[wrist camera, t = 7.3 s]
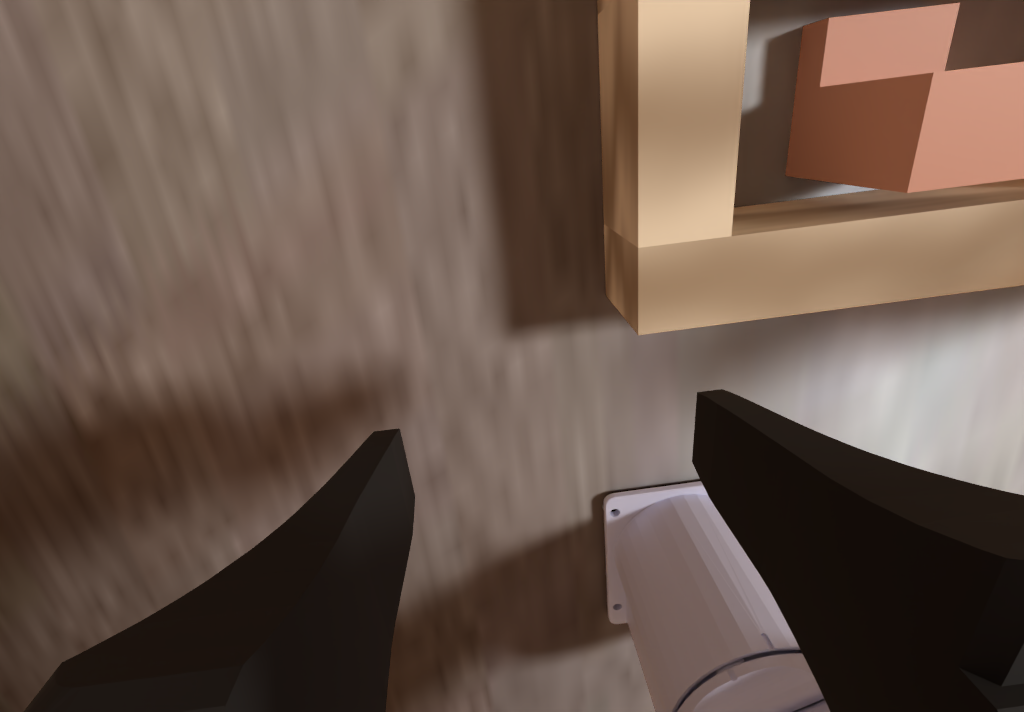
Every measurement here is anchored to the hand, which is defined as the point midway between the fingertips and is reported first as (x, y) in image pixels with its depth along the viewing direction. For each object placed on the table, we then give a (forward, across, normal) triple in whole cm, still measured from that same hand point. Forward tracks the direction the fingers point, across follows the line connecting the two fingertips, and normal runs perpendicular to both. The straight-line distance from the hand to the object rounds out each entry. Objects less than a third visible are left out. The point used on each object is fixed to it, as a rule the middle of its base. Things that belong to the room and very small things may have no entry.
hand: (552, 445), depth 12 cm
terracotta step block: (+10, -13, -6) cm, 17 cm away
